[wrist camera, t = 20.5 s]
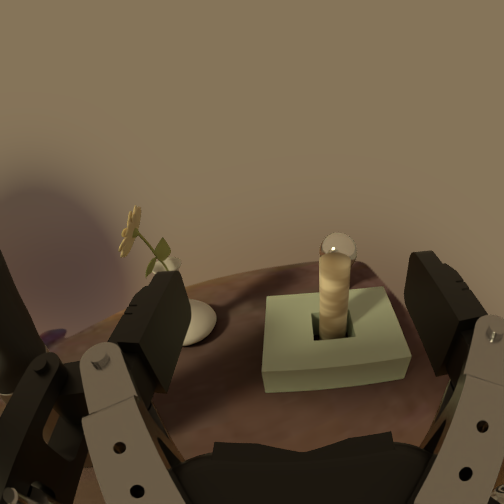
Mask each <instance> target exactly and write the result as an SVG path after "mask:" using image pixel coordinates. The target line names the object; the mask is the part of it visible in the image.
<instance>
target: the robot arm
mask: <svg viewBox="0 0 504 504" xmlns="http://www.w3.org/2000/svg"><path fill="white" fill-rule="evenodd" d="M404 299H405V304H406V307H407V309H408V312H409V314H410V316H411V318H412V320H413V323H414V325H415V327H416V329H417V331H418V334H419V336H420V338H421V341H422V343H423V345H424V348H425V350H426V352H427V355H428V357H429V360H430V362H431V365H432V367H433V370H434V372H435V375H436V377H437V376H441V375H445V374H448V375H449V377H450V381H449V382H448V385H447V387H446V390H445V392H444V395H443V398H442V400H441V403H440V405H439V408H438V410H437V413H436V415H435V417H434V420H433V422H432V424H431V427H430V429H429V431H428V433H427V435H426V436H425V438H424V440H423V441H422V443H421V445H420V446H419V447H417V446H414V445H410V444H406V443H400V442H393V438H392V433H391V431H390V432H385V433H380V434H374V435H368V436H361V437H354V438H348V439H345V440H343V441H340V442H337V443H334V444H331V445H328V446H325V447H321V448H318V449H315V450H311V451H308V452H296V451H291V450H285V449H280V448H275V447H271V446H266V445H261V444H252V443H224V442H214V448H213V453H207V454H203V455H199V456H196V457H193V458H191V459H188V460H186V461H185V459H184V458H183V456H182V455H181V453H180V452H179V451H178V449H177V447H176V446H175V444H174V442H173V441H172V439H171V437H170V435H169V433H168V431H167V429H166V427H165V425H164V423H163V421H162V419H161V417H160V415H159V413H158V411H157V409H156V407H155V405H154V403H153V401H152V397H153V394H154V392H156V393H166V394H167V391H168V388H169V385H170V382H171V379H172V376H173V373H174V370H175V367H176V364H177V361H178V358H179V355H180V352H181V349H182V346H183V343H184V340H185V337H186V334H187V331H188V328H189V325H190V322H191V306H190V302H189V299H188V296H187V293H186V290H185V286H184V283H183V280H182V277H181V274H180V272H179V271H177V270H176V271H161V272H157V273H156V274H155V276H154V277H153V279H152V281H151V282H150V284H149V286H145V287H143V288H142V289H141V290H140V291H139V292H138V293H137V294H135V296H134V297H133V299H132V301H131V302H130V304H129V307H127V309H126V311H125V312H124V315H123V316H122V317H121V319H120V321H119V322H118V324H117V326H116V328H115V329H114V331H113V333H112V335H111V336H110V338H109V340H108V342H103V343H99V344H97V345H94V346H93V347H91V348H90V349H88V350H87V351H86V352H85V353H84V355H83V356H82V358H81V360H80V361H77V362H71V363H65V364H63V363H62V361H61V360H60V359H59V357H58V356H57V355H56V354H55V353H52V352H49V350H48V349H47V347H46V346H45V344H44V342H43V341H42V339H41V338H40V336H39V334H38V332H37V330H36V328H35V325H34V323H33V321H32V318H31V316H30V314H29V312H28V310H27V308H26V306H25V305H24V303H23V301H22V299H21V297H20V295H19V293H18V291H17V288H16V286H15V284H14V282H13V279H12V277H11V274H10V272H9V269H8V267H7V265H6V262H5V260H4V257H3V255H2V252H1V250H0V398H1V399H2V400H3V401H4V402H5V403H6V404H7V405H6V407H5V409H4V411H3V413H2V415H1V417H0V504H73V501H74V497H75V494H76V490H77V487H78V483H79V480H80V476H81V473H82V470H83V467H92V466H93V467H94V471H95V474H96V477H97V480H98V483H99V486H100V489H101V492H102V494H103V497H104V500H105V502H106V504H501V503H499V502H498V501H497V500H495V499H494V498H492V497H491V493H492V490H493V488H494V485H495V482H496V479H497V476H498V474H499V470H500V467H501V464H502V461H503V458H504V319H503V318H501V317H499V316H495V315H488V314H487V312H486V311H485V310H484V308H483V307H482V305H481V304H480V302H479V301H478V300H477V298H476V297H475V295H474V294H473V292H472V291H471V290H469V287H468V286H467V284H466V283H465V282H463V279H462V278H461V276H460V275H459V274H458V272H457V271H456V270H454V269H453V268H451V267H450V266H449V265H447V264H442V262H441V261H440V260H439V258H438V257H437V256H436V255H435V253H434V252H433V251H422V252H413V253H411V255H410V258H409V265H408V271H407V277H406V283H405V289H404ZM45 442H47V443H48V445H47V444H46V443H45Z"/></svg>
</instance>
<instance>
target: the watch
mask: <svg viewBox="0 0 504 504" xmlns="http://www.w3.org/2000/svg"><path fill="white" fill-rule="evenodd" d="M491 497H492V498H494V499H495V500H497V501H498V502H499V503H501V504H504V484H503V485H501V486H498V487H497V488H496V489H495V490H494V492H492V493H491Z"/></svg>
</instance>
